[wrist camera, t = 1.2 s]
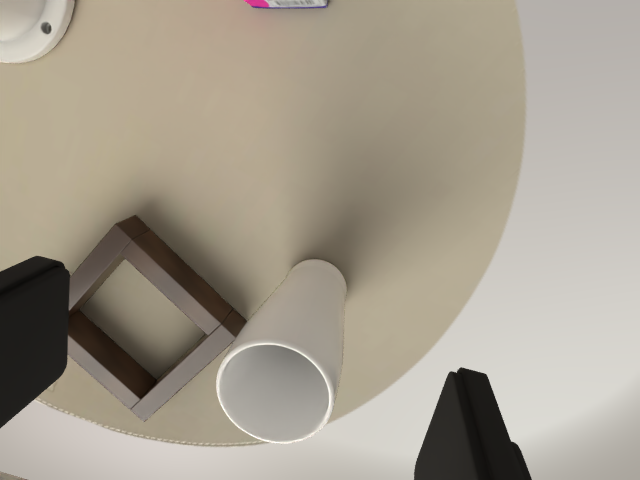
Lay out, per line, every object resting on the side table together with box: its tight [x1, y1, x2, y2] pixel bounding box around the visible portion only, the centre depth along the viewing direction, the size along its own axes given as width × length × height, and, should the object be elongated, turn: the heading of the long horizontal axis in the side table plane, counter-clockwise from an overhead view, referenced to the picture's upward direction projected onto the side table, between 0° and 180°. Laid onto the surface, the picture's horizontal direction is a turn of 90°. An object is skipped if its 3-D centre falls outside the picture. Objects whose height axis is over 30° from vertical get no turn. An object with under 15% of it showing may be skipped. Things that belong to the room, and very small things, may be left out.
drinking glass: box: [216, 259, 347, 443], centre depth 31 cm, size 7×7×15 cm
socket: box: [67, 215, 247, 422], centre depth 41 cm, size 14×14×3 cm
